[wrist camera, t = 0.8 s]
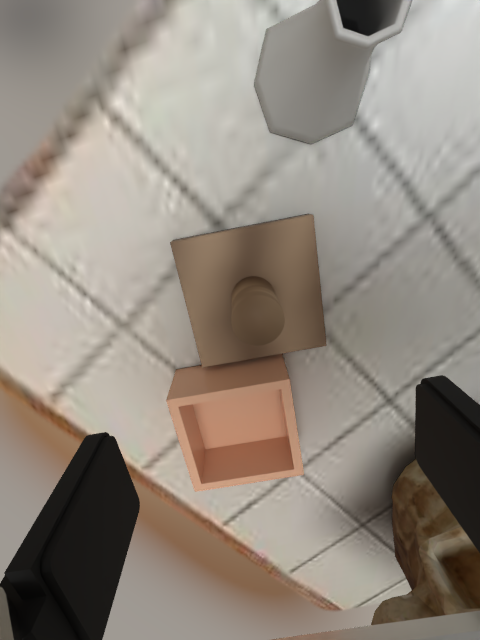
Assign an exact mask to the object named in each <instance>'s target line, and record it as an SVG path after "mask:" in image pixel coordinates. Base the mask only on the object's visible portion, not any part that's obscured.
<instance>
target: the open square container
mask: <svg viewBox="0 0 480 640" xmlns="http://www.w3.org/2000/svg"><path fill="white" fill-rule="evenodd" d="M166 401H167V404H168V407H169V411H170V414H171V417H172V420H173V423H174V426H175V430H176V433H177V436H178V439H179V442H180V446H181V449H182V452H183V455H184V458H185V462H186V465H187V468H188V471H189V474H190V478H191V481H192V484H193V487H194V490H195V492H197V491H203V490H210V489H216V488H222V487H229V486H235V485H241V484H248V483H254V482H260V481H267V480H273V479H279V478H286V477H292V476H299V475H304V471H303V464H302V458H301V451H300V444H299V438H298V431H297V425H296V418H295V411H294V405H293V398H292V392H291V385H290V379H289V376H288V372H287V369H286V366H285V363H284V359H283V356H282V354H276V355H270V356H264V357H259V358H253V359H247V360H242V361H236V362H230V363H224V364H219V365H213V366H207V367H202V365H199V366H193V367H187V368H182V369H176V372H175V375H174V378H173V381H172V384H171V387H170V390H169V393H168V397H167V400H166Z"/></svg>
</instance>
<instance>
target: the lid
mask: <svg viewBox="0 0 480 640" xmlns="http://www.w3.org/2000/svg"><path fill="white" fill-rule="evenodd" d="M170 244H171V247H172V251H173V255H174V259H175V263H176V267H177V271H178V275H179V279H180V283H181V286H182V290H183V294H184V298H185V302H186V306H187V310H188V314H189V318H190V322H191V325H192V329H193V333H194V337H195V341H196V345H197V349H198V353H199V357H200V360H201V364H202V367H207V366H213V365H219V364H224V363H230V362H236V361H242V360H247V359H253V358H259V357H264V356H270V355H276V354H282V353H287V352H293V351H299V350H304V349H310V348H316V347H322V346H326V336H325V326H324V316H323V306H322V296H321V286H320V277H319V267H318V257H317V247H316V237H315V227H314V217H313V215H312V214H307V215H302V216H297V217H292V218H287V219H282V220H277V221H271V222H266V223H261V224H256V225H251V226H246V227H240V228H235V229H230V230H225V231H220V232H215V233H209V234H204V235H199V236H194V237H189V238H184V239H178V240H173V241H172V242H170Z"/></svg>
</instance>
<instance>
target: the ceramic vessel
mask: <svg viewBox="0 0 480 640" xmlns="http://www.w3.org/2000/svg"><path fill="white" fill-rule="evenodd" d="M392 500H393V508H392V526H393V535H394V545H395V557H396V559H397V561H398V563H399V565H400V567H401V568H402V570H403V572H404V574H405V576H406V578H407V580H408V582H409V585H410V587H411V589H412V591H411V592H409V593H408V594H407V595H402V596H398V597H393V598H390V599H388V600H385V601H383V602H382V603H381V604H380V605H379V607H378V608H377V609H376V611H375V613H374V616H373V620H372V623H371V625H378V624H385V623H393V622H400V621H407V620H415V619H422V618H429V617H437V616H444V615H451V614H459V613H466V612H473V611H480V553H479V551H478V550H477V548H476V547H475V546H474V544H473V543H472V541H471V540H470V538H469V537H468V536H467V534H466V533H465V531H464V530H463V528H462V527H461V526H460V524H459V523H458V521H457V520H456V518H455V517H454V515H453V514H452V513H451V511H450V510H449V508H448V507H447V505H446V504H445V503H444V501H443V500H442V498H441V497H440V495H439V494H438V493H437V491H436V490H435V488H434V487H433V485H432V484H431V482H430V481H429V480H428V478H427V477H426V475H425V474H424V472H423V471H422V470H421V468H420V467H419V465H418V463H417V460H416V459H415V460H414V461H413V462H411V463H410V464H409V465H407V466H406V467H405V469H404V470H403V472H402V473H401V475H400V476H399V478H398V479H397V481H396V482H395V483H394V485H393V491H392Z"/></svg>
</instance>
